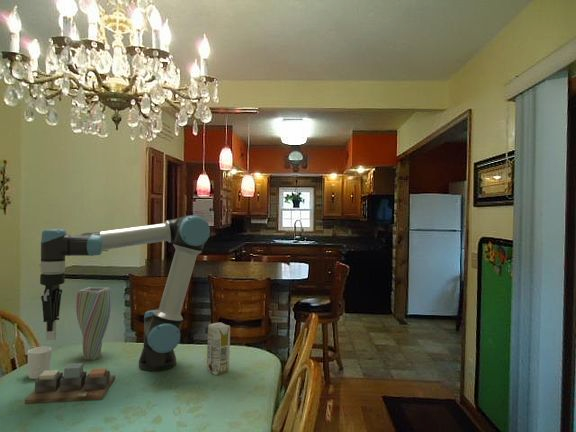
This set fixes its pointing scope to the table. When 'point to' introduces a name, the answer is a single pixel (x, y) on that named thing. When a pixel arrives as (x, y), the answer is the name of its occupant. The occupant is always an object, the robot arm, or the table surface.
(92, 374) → the terracotta key
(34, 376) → the white cup
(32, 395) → the board
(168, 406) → the table surface
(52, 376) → the cream key
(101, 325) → the vase
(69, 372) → the slate key
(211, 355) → the juice carton
